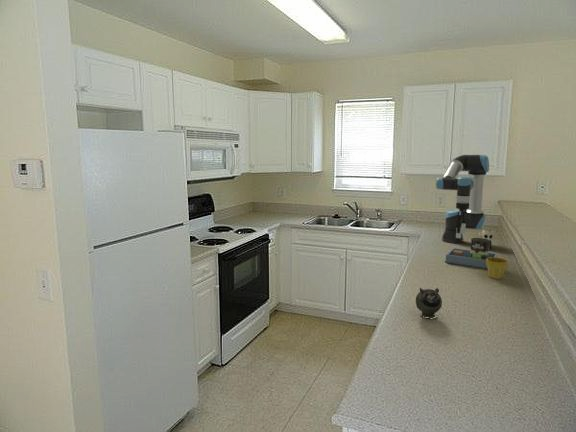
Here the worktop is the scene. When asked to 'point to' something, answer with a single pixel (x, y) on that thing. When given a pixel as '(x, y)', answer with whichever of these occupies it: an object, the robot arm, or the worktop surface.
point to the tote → (467, 259)
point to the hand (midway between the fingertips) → (460, 235)
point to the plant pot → (496, 267)
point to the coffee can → (479, 248)
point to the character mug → (488, 236)
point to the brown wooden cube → (458, 253)
